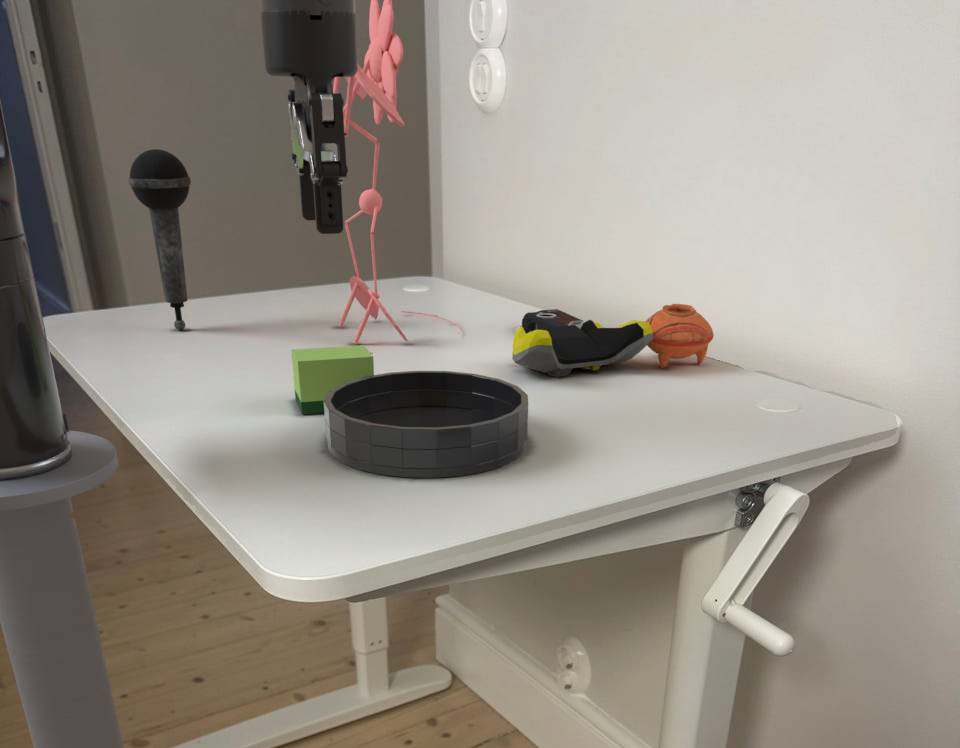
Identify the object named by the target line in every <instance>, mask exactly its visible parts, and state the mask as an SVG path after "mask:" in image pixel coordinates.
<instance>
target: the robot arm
mask: <svg viewBox="0 0 960 748" xmlns="http://www.w3.org/2000/svg"><path fill="white" fill-rule="evenodd" d="M259 7H260V9H259V10H260V21H261V32H262V45H263V57H264V68H265V71H266V72H267V74H268V75H270V76H272V77H291V78H292V79H293V80H294V89H288V93H287V101H288V103H287V116H288V120H289V124H290V144H291V149H292V153H291V160H292V161H293V164H294V169H295V170H296V174H297V175H298V181H299V195H300V207H301V216H302V217H303V219H304V220H306V221H315V229H316V230H317V232H318V233H320V234H321V235H328V234H329V235H333V234H334V235H335V234H341V233H343V230H344V213H343V197H342V185H343V184H344V180H345V178H347V177H348V172H349V167H348V165H347V152H346V151H347V150H346V137H345V134H344V118H343V109H344V107H345V103H344V98H343V96H342V93H340V92H338V93H333V87H334V85H333V84H332V82H333V81H334V79H335V77H340V78H344V77H352V76H354V75H356V73H357V71H358V64H359V61H358V47H357V46H358V42H357V41H358V39H357V21H356V0H259ZM7 132H8V131H7V127H6V122H5V117H4V111H3V106H2V102H1V100H0V481H1V480H12V479H19V478H25V477H29V476H34V475H38V474H41V473H45V472H48V471H50V470H53V469H55V468H58V467H60V466H61V465H63V464H65V463H66V462H67V461H69V459H70V458H71V456H72V451H71V446H70V442H69V440H68V438H67V437H68V435H67V432H69V430H70V429H69V424H68V420H67V419H68V418H67V414H65V413H63V409H62V405H61V400H60V394H59V389H58V386H57V379H56V377H55V370H54V366H53V365H54V364H53V361H52V356H51V352H50V346H49V341H48V337H47V332H46V326H45V323H44V318H43V312H42V308H41V302H40V298H39V294H38V288H37V284H36V279H35V275H34V270H33V265H32V260H31V256H30V255H31V254H30V251H29V245H28V241H27V235H26V233H25V227H24V222H23V217H22V210H21V205H20V198H19V192H18V183H17V177H16V172H15V166H14V162H13V157H12V154H11V148H10V143H9V138H8V133H7Z"/></svg>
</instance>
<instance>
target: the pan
mask: <svg viewBox="0 0 960 748" xmlns="http://www.w3.org/2000/svg"><path fill="white" fill-rule="evenodd" d="M323 414H324V427H325V428H324V429H325V438H326V439H327V448H328V451H329V453H330V454H331V456H332V457H333V458H335V459H336V460H337V461H339V462H340V463H343V464H344V465H346V466H349V467H351V468H354V469H357V470H360V471H363V472H368V473H371V474H376V475H382V476H389V477H397V478H411V479H436V478H437V479H439V478H440V479H441V478H451V477H454V478H455V477H460V476H468V475H469V476H470V475H474V474H480V473H484V472H489V471H492V470H494V469H498V468H501V467H503V466H507V465H509V464H511V463H512V462H514V461H515V460H517V459H518V458H520V457H521V456H522V455H523V453H524V452H526V451H525V450H526V448H527V441H528V430H529V429H528V427H529V426H528V424H529V395H528V393H526V392H525V391H524V390H522V388H521V387H519V386H518V385H516V384H513V383H510V382H509V381H505V380H504V379H500V378H496V377H492V376H486V375H484V374H483V375H482V374H477V373H472V372H471V373H470V372H460V371H452V370H409V371H408V370H406V371H393V372H386V373H377V374H374V375H372V376H366V377H362V378H359V379H356V380H352V381H349V382H346V383H343V384H341V385H339V386H337V387H336V388H334V389H332V390H331V391H329V392H328V394H327V396H326V398H325V399H324V413H323Z"/></svg>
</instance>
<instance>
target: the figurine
mask: <svg viewBox="0 0 960 748" xmlns="http://www.w3.org/2000/svg"><path fill="white" fill-rule="evenodd" d="M394 13H395V12H394V9H393V0H383V2H382V6H381V9H380V4H379V0H370V4H369V16H368V17H369V20H368V27H369V28H368V29H369V30H368V31H369V32H368V34H369V41H370V43H369V45H368V49H367V51H366V53H365V56H364V60H363V61H364V62H363V64H364V65H363V67H361V65H360V64H359V63H358V71H357V73H356V75H354V76H352V77H343V78H344V79H345V81H346V82H347V92H346V100H345V103H344V106H343V118H344V134H345V138H347V137H349V130H350V128H349V127H350V126H351V127H353V128H354V129H355V130H356V131H357V132H359V133H361V134H362V135H363V136H364V137H366V138H367V139H368V140H369V141H371V142H372V143H374V155H373V156H374V157H373V173H372V188H370V189H366V190H364V191H362V192H361V194H360V196H359V199H358V205H359V208H360V210H359V211H357V212H356V213H355V214H353V215H351V217H349V218H347V219H346V220H345V221H344V228H345V231H346V236H347V240H348V241H347V242H348V246H349V249H350V253H351V257H352V262H353V266H354V270H355V275H356V276H355V275H353V276H351V277H350V279H349V285H350V291H351V293H350V296H349V297H348V301H347V303H346V305H345V307H344V310H343V313H342V314H341V317H340V320H339V322H338V327H340V328H343V327H344V325H345V322H346V320H347V317H348V315H349V312H350V310H351V308H352V304H353V302H354V300H355V299H356V300H357V302H358V303H359V304H360V306H361V307H362V308H363V309H364V310H365V312H364V314H363V317H362V319H361V322H360V324H359V327H358V329H357V332H356V334H355V336H354V339H353V341H352V343H353V344H355V345H358V343H359V341H360V339H361V336H362V334H363V331H364V329H365V327H366V324H367V322H368V319H369V317H372V318H373V319H374V320H377V319H378V317H379V312H380V311H379V310H381V312H382V313H383V314H384V316H385V318H387V320H388V321H389V322H390V324H391V325H392V326H393V328H394V329H395V330H396V331H397V332H398V334H399V335H400V337H401V338H402V339H403V340H404V342H405V343H407V342H409V340H408V338H407V337H406V336H405V334H404V333H403V332H402V330H401V329H400V327H399V326H398V324H397V322H396V321H395V320H394V319H393V317H392V316H391V315H390V313H389V312H388V311H387V309H386V308H385V307H384V305H383V304H382V303H381V301H380V300H379V299H380V298H381V297H380V295H379V293H378V282H377V267H376V266H377V263H376V250H375V236H374V235H375V234H374V233H375V227H376V222H377V221H376V220H377V215H378V213H379V212H380V211H381V209H382V207H383V198H382V195H381V194H380V193H379V192H378V190H376V187H377V177H378V169H379V168H378V167H379V159H380V158H379V157H380V146H381V143H380V142H378V138H377V137H375V136H374V135H373V134H371V133H370V132H369V131H367V130H365V129H364V128H363V127H361V126H360V125H358V124H357V123H356V122H354V121H353V120H351V119H350V118H351V109H352V103H353V101H354V99H355V97H356V95H358V97H360V98H361V100H362V101H364V100H365V98H366V96H367V95H368V96H369V97H370V99H371V100H372V104H373V105H372V106H373V118H374V122H375V124H376V125H380V124H381V122H382V119H383V116H384V113H385V114H386V115H387V119H388V120H389V122H390V124H394V123H397V124H398V126H400V127H401V128H402V129H404V128H405V127H406V124H405V122H404V120H403V118H402V117H401V115H400V113H399V112H398V110H397V104H398V102H397V101H398V95H397V76H398V73H399V68H400V66H401V65H402V62H403V59H404V46H403V43H402V40H401V38H400V37H399V35H398V34H397V33H395V32H393V27H394V20H395V14H394ZM340 78H341V77H335V78H334V79H333V93H339V83H340ZM363 213H365V214H367V215H369V216H372V221H371V226H370V247H371V259H372V260H371V261H372V273H373V287H374V288H373V289H374V292H373V291H372V290H371V289H370V287H369V285H367V283H366V282H365V281H364V280H362V279H361V277H360V272H359V268H358V263H357V259H356V254H355V250H354V246H353V240H352V237H351V232H350V227H349V223H350V222H352V221H353V220H354V219H356V218H357V217H359V216H360V215H362V214H363ZM401 313H404V314H415V315H422V316H428V317H432V318H436V319H440V320H444V321H446V322H449V323H451V324H452V325H454V326H456V327H457V329H460V327H459V326H458V325H460V323H459V322H458V321H456V320H454V322H453V321H452V320H449V319H446V318H444V317H441V316H438V314H431V313H430V314H429V313H428V314H427V313H421V312H415V311H403V310H401ZM457 334H458V335H459V334H460V332H458V333H457ZM370 353H371V355H373V352H370Z"/></svg>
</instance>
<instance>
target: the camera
mask: <svg viewBox="0 0 960 748" xmlns="http://www.w3.org/2000/svg"><path fill="white" fill-rule="evenodd" d="M584 321H585V320H582V319H581V318H578V317H576V316H573V315H571V314H569V313H567V312H565V311H562V310H561V309H558V308H557V309H556V308H555V309H540V310H538V311H532V312H527V313H525V314H524V316H523V317H522V319H521V326H522V327H525V328H527V329H529V331H530V332H531V331H534V330H539V329H540V328H548V327H559V326H569V325H576V326H577V327H578V328H579V329H581V327H582V322H584Z"/></svg>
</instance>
